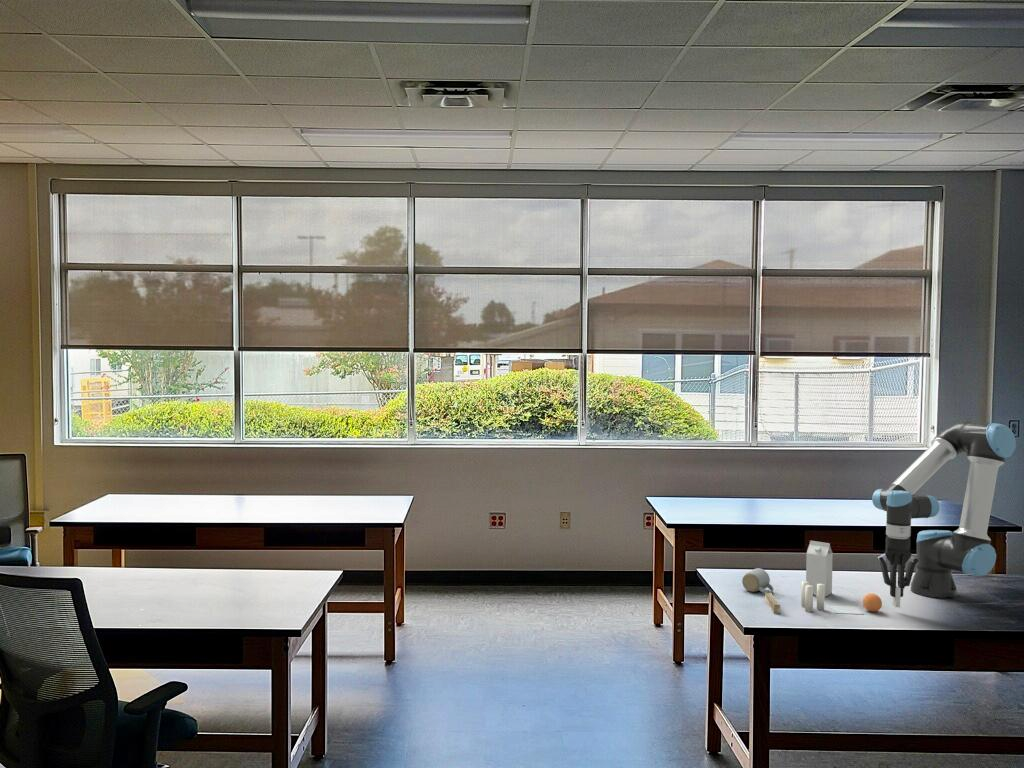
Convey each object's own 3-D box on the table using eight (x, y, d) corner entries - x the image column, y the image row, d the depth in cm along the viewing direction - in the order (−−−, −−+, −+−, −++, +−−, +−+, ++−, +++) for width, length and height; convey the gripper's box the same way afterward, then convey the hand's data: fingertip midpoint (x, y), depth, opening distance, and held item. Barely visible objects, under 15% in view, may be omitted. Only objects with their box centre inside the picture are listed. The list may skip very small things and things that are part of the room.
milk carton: (812, 589, 295) (813, 539, 295) (831, 593, 291) (832, 541, 290) (805, 593, 290) (806, 542, 289) (825, 597, 285) (826, 545, 285)
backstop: (770, 601, 279) (770, 593, 279) (780, 613, 265) (780, 604, 265) (765, 601, 279) (765, 592, 279) (774, 613, 265) (774, 604, 265)
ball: (878, 609, 272) (878, 591, 272) (884, 614, 266) (884, 596, 266) (859, 608, 272) (860, 591, 272) (865, 613, 266) (866, 595, 266)
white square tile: (855, 607, 273) (856, 606, 273) (863, 614, 265) (863, 613, 265) (829, 606, 274) (829, 605, 274) (836, 613, 266) (836, 612, 266)
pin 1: (807, 605, 275) (807, 581, 275) (809, 607, 272) (809, 583, 272) (800, 605, 275) (800, 581, 275) (802, 607, 273) (802, 582, 272)
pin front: (823, 608, 272) (823, 583, 272) (825, 610, 269) (825, 585, 269) (815, 608, 272) (816, 583, 272) (817, 610, 270) (818, 585, 269)
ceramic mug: (740, 590, 293) (741, 569, 293) (751, 586, 299) (751, 566, 299) (767, 597, 286) (768, 575, 285) (777, 592, 292) (778, 571, 291)
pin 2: (811, 610, 270) (811, 585, 270) (813, 612, 267) (813, 587, 267) (804, 609, 270) (804, 585, 270) (806, 611, 268) (806, 586, 267)
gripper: (882, 538, 264) (880, 608, 265) (922, 539, 263) (921, 610, 264) (874, 533, 272) (872, 602, 272) (913, 535, 271) (911, 603, 271)
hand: (896, 606), depth 268 cm, fingers closed
